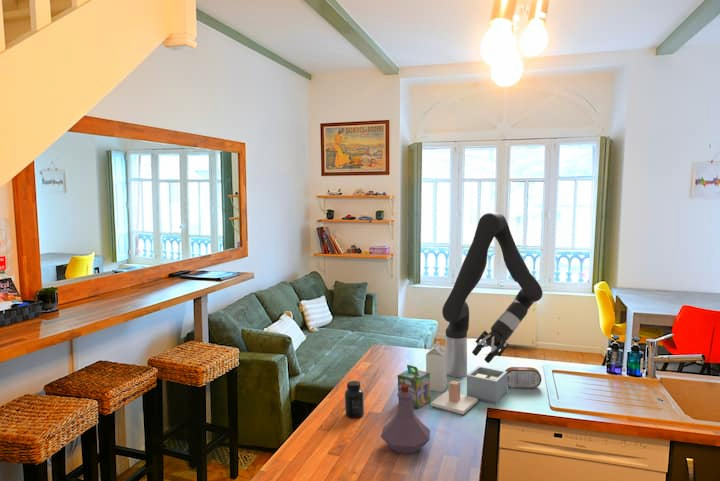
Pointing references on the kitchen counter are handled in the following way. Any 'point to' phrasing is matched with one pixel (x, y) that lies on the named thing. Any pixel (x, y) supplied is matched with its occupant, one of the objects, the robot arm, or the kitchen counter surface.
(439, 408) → the mat
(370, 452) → the kitchen counter surface
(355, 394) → the supplement bottle
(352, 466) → the kitchen counter surface
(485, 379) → the box
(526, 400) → the kitchen counter surface
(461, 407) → the lid
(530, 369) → the tin
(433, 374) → the milk carton
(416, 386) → the green handled carton
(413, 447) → the flask
